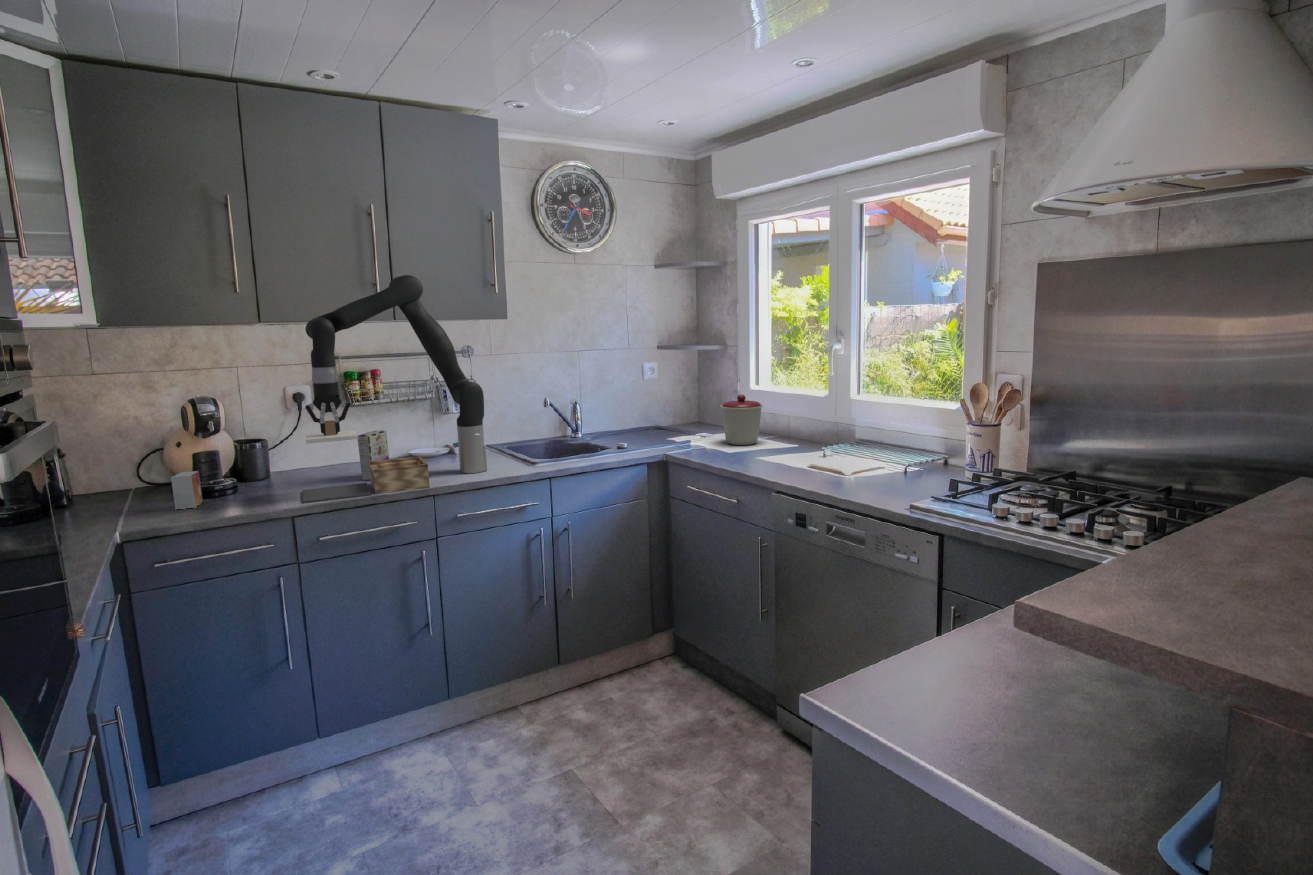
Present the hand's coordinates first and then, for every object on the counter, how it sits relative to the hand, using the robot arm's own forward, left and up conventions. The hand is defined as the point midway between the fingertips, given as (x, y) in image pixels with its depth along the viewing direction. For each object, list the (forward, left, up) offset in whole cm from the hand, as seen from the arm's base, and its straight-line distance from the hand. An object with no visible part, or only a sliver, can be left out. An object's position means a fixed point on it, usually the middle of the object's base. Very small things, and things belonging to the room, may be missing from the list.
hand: (330, 433), depth 237 cm
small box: (+42, -6, -20) cm, 47 cm away
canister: (-160, -5, -20) cm, 161 cm away
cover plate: (0, 0, -2) cm, 2 cm away
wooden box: (-20, 0, -20) cm, 28 cm away
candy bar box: (-14, -20, -20) cm, 32 cm away
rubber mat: (0, 0, -20) cm, 20 cm away
